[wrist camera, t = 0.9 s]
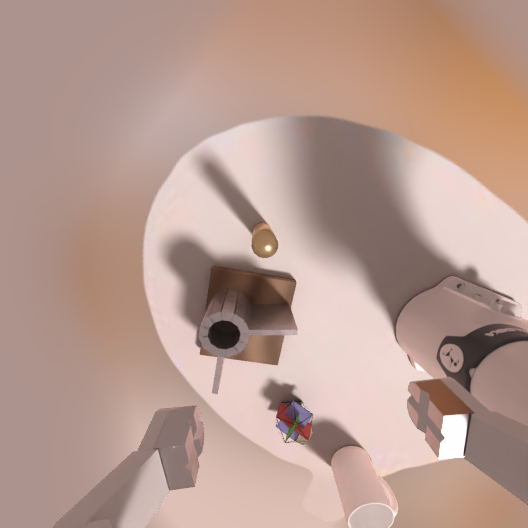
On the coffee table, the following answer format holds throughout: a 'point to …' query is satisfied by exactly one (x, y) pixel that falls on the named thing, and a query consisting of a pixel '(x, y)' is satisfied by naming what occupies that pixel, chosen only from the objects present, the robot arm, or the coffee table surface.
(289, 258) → the coffee table surface
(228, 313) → the grey socket block
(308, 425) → the geometric puzzle
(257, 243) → the pin
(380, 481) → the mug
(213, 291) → the base board
